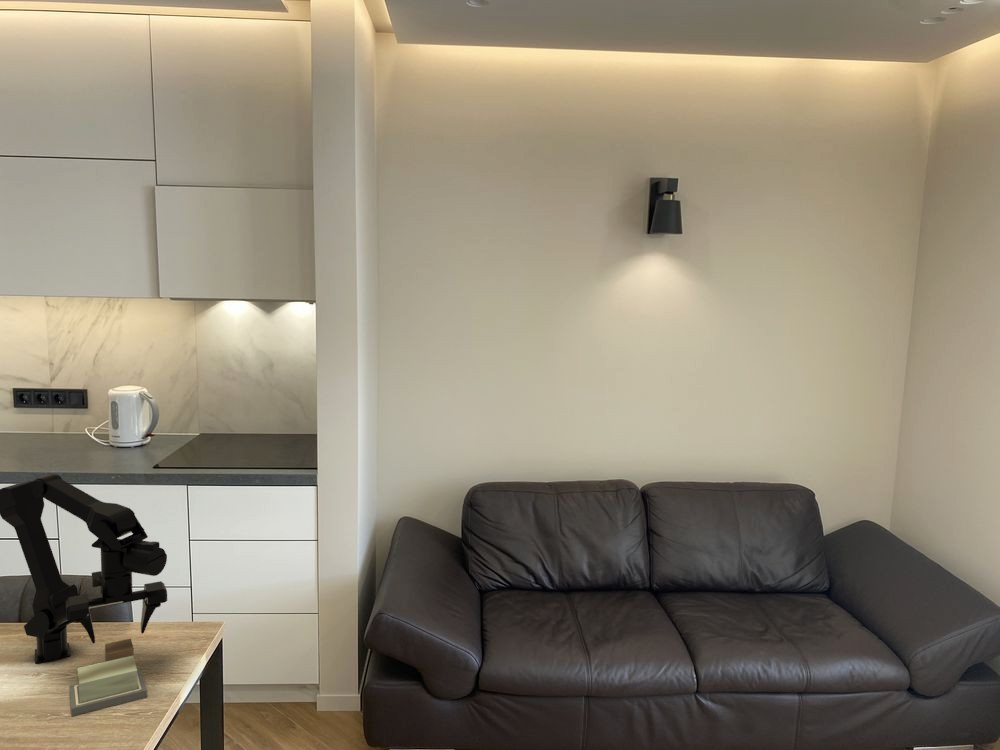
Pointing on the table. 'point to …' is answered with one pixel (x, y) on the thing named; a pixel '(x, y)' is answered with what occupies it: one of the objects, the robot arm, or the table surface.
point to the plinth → (106, 698)
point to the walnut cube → (118, 650)
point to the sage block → (107, 678)
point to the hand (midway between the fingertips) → (118, 637)
